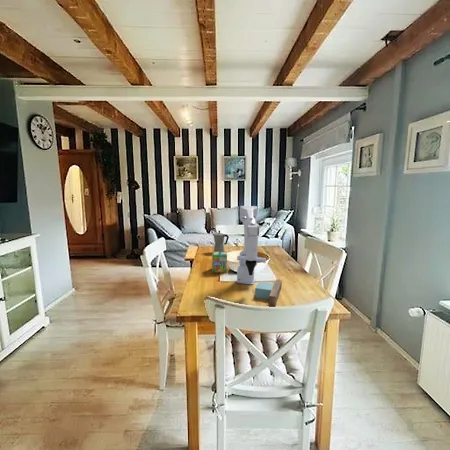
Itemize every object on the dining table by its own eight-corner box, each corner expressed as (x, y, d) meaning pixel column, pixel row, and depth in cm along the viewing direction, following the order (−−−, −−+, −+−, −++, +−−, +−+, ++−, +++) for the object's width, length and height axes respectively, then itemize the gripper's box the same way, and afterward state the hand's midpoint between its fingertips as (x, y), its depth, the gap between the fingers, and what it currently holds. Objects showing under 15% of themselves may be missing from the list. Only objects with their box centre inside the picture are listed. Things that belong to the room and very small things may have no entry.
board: (268, 305, 128) (269, 295, 128) (275, 287, 151) (276, 279, 150) (275, 306, 127) (275, 296, 127) (281, 288, 150) (281, 280, 149)
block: (254, 297, 137) (255, 288, 136) (258, 290, 147) (259, 281, 146) (271, 300, 135) (271, 290, 134) (273, 292, 144) (274, 283, 143)
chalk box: (211, 268, 183) (212, 246, 181) (225, 268, 183) (226, 246, 181) (212, 273, 174) (212, 249, 171) (226, 272, 174) (227, 249, 172)
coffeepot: (209, 252, 226) (209, 230, 224) (215, 250, 234) (215, 229, 232) (225, 255, 218) (225, 232, 216) (231, 252, 226) (231, 230, 224)
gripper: (235, 249, 138) (235, 275, 140) (264, 252, 134) (263, 279, 136) (239, 246, 145) (238, 271, 147) (267, 248, 140) (265, 274, 142)
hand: (250, 274), depth 142 cm, fingers closed
